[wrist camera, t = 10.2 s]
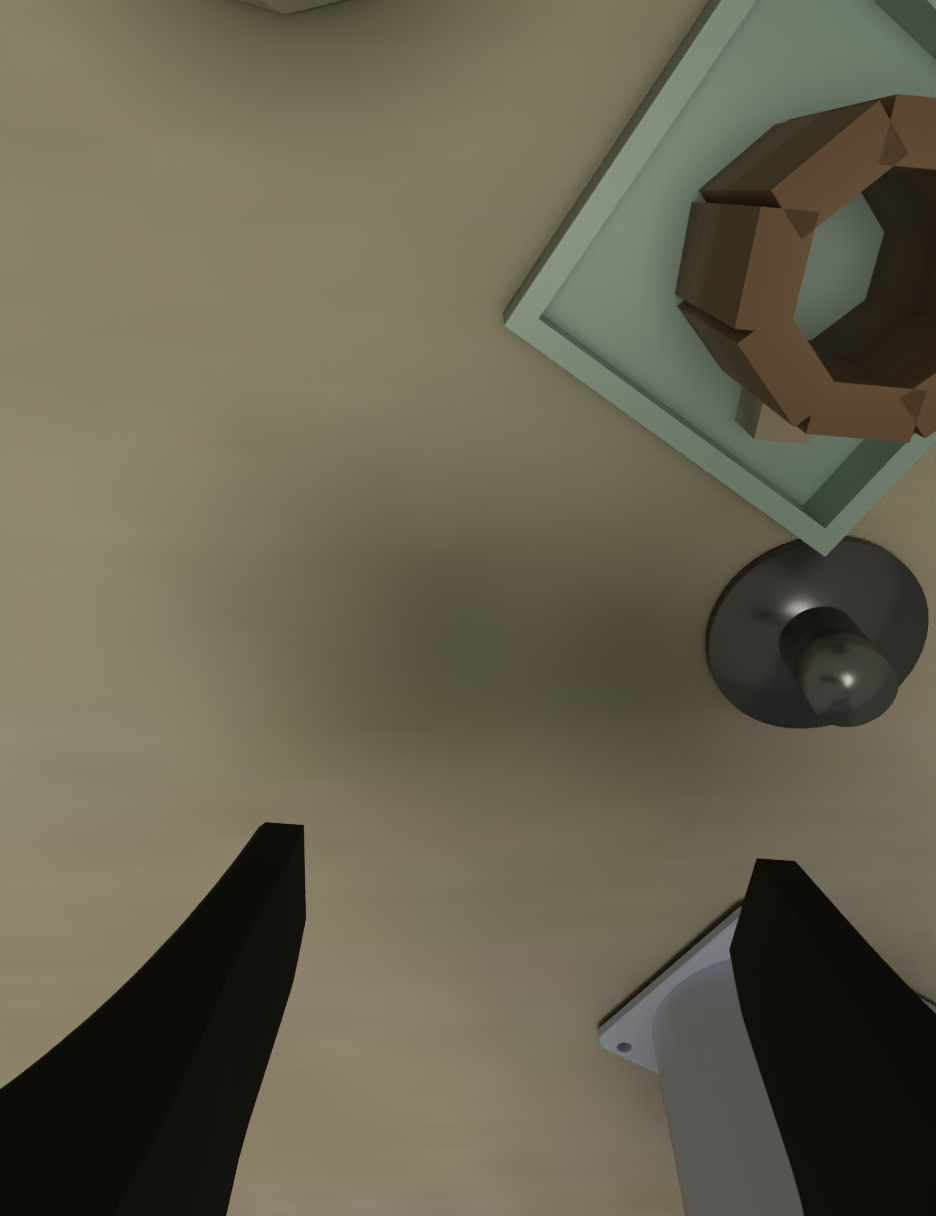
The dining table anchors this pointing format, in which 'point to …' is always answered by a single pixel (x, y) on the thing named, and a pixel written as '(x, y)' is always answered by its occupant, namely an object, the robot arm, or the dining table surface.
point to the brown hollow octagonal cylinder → (775, 264)
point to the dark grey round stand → (817, 634)
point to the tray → (655, 232)
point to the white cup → (288, 4)
